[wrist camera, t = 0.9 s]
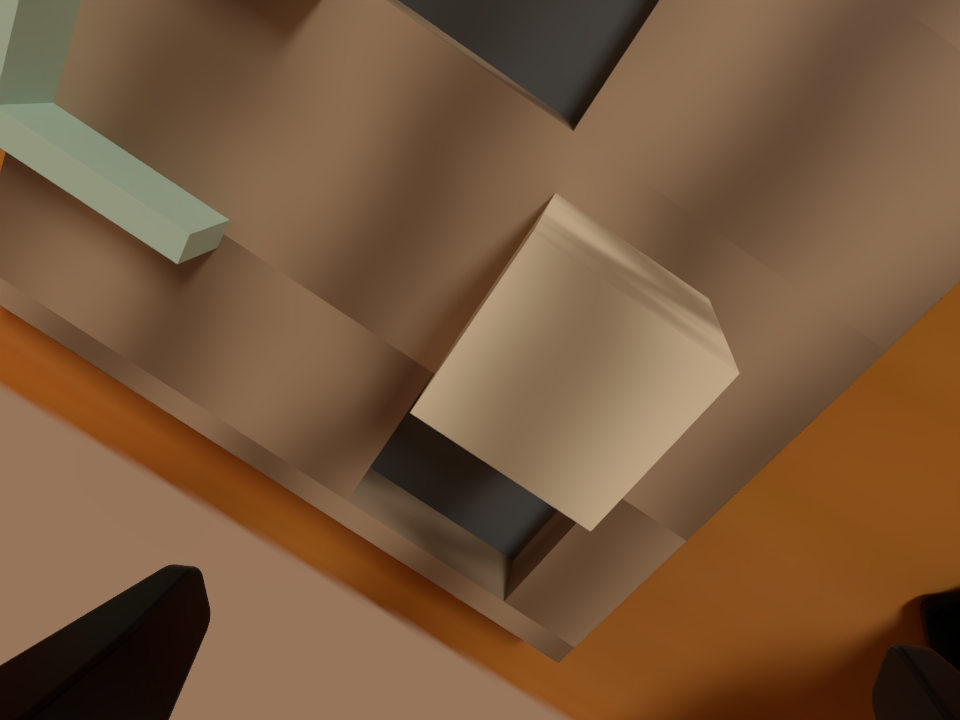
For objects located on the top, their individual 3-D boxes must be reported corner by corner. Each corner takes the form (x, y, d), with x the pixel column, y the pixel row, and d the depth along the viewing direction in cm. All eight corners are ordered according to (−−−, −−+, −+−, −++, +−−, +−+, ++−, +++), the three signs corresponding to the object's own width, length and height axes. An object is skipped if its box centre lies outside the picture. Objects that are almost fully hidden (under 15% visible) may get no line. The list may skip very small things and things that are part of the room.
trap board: (1068, 106, 17) (1138, 110, 14) (563, 612, 26) (558, 662, 24) (257, -495, 15) (194, -595, 13) (31, 267, 25) (-29, 286, 22)
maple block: (709, 298, 18) (739, 373, 13) (597, 428, 20) (590, 532, 15) (555, 192, 17) (532, 231, 13) (458, 335, 20) (409, 412, 15)
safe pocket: (348, -52, 16) (314, -69, 14) (217, 247, 20) (177, 264, 18) (101, -226, 16) (33, -266, 14) (15, 113, 20) (-47, 116, 18)
